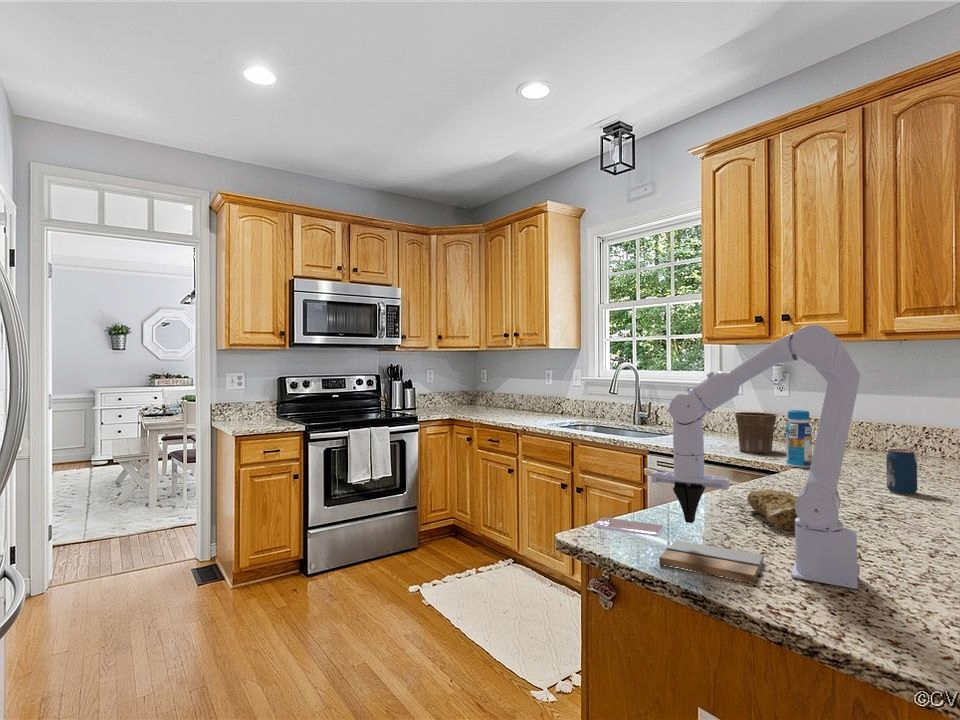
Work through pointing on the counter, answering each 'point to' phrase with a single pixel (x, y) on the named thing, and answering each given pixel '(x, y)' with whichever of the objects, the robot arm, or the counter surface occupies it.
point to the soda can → (901, 471)
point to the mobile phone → (629, 526)
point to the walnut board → (710, 564)
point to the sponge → (775, 507)
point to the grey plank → (719, 552)
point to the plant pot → (755, 431)
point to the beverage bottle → (799, 439)
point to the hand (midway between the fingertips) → (690, 521)
